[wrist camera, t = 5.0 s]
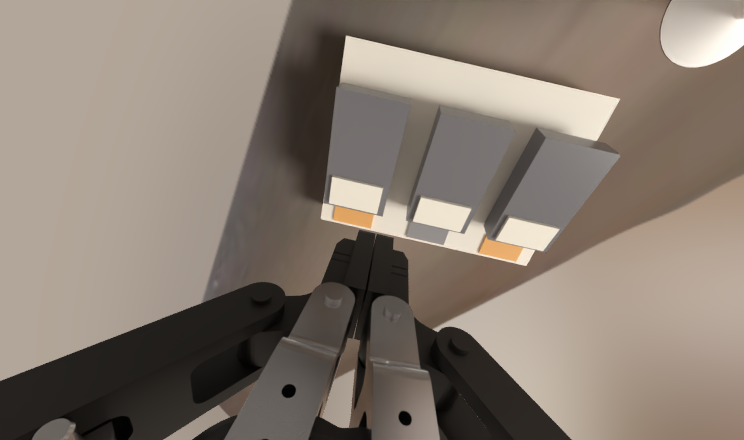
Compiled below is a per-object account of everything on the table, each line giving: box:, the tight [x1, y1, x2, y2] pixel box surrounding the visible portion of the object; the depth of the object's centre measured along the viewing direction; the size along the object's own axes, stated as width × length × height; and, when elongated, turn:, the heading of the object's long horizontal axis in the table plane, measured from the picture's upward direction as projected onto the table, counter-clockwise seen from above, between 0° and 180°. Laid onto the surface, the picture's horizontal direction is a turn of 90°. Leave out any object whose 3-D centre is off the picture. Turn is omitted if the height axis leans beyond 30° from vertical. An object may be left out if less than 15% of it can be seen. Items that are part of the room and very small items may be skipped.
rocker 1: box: [323, 82, 411, 217], centre depth 22 cm, size 9×5×2 cm, turn 169°
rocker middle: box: [406, 105, 516, 234], centre depth 22 cm, size 9×5×2 cm, turn 169°
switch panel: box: [321, 36, 620, 266], centre depth 25 cm, size 15×20×4 cm
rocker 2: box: [484, 127, 621, 253], centre depth 22 cm, size 9×5×2 cm, turn 169°
